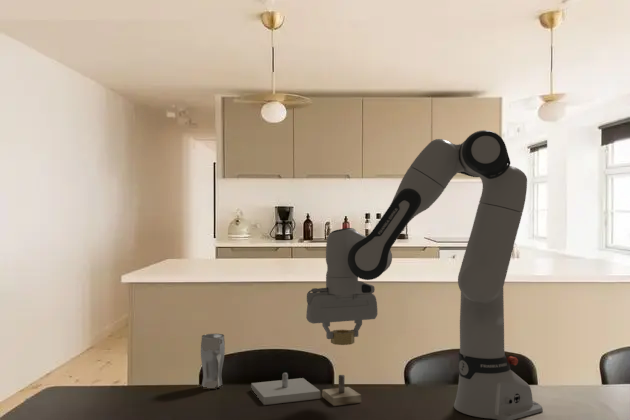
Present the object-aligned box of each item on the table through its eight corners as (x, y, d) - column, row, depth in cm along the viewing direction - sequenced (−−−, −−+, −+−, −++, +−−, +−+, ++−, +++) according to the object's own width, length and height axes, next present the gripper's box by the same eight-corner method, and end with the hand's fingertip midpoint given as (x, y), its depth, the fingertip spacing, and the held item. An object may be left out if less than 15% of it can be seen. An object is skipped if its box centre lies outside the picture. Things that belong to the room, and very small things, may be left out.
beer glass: (218, 391, 149) (219, 338, 149) (196, 389, 150) (197, 337, 151) (227, 384, 155) (228, 334, 156) (205, 383, 157) (206, 332, 158)
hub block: (303, 384, 156) (303, 364, 156) (320, 398, 143) (320, 376, 143) (251, 390, 150) (251, 369, 150) (264, 404, 137) (264, 381, 137)
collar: (347, 339, 146) (347, 329, 146) (357, 343, 141) (357, 332, 141) (328, 341, 144) (328, 330, 144) (337, 345, 138) (336, 334, 139)
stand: (348, 394, 147) (348, 370, 147) (361, 402, 139) (361, 377, 140) (322, 397, 144) (322, 373, 144) (333, 405, 136) (333, 380, 137)
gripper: (310, 289, 136) (311, 342, 136) (379, 286, 144) (380, 336, 143) (302, 287, 142) (303, 338, 142) (369, 284, 150) (370, 333, 149)
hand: (342, 337), depth 142 cm, fingers closed on collar, 6 cm apart
